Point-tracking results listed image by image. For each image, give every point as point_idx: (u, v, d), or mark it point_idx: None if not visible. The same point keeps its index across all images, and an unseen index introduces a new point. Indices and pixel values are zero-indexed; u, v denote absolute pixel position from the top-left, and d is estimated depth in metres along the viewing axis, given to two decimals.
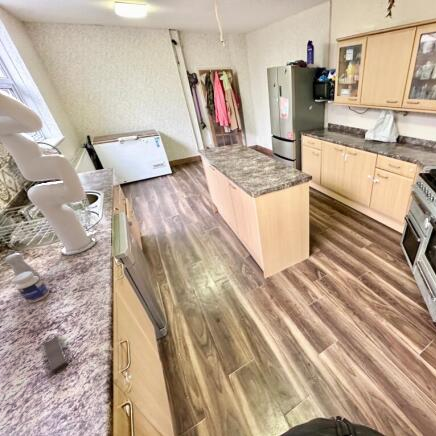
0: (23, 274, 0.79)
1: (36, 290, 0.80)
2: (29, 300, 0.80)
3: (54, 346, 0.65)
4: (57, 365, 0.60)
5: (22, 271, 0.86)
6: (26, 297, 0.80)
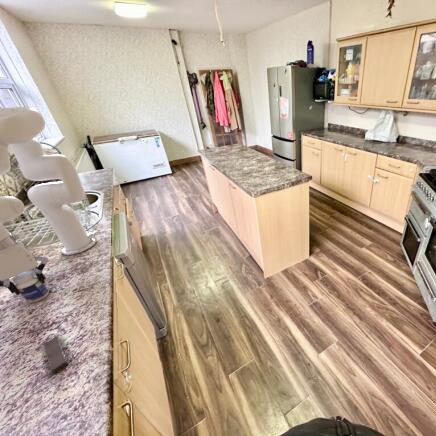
0: (23, 274, 0.79)
1: (36, 290, 0.80)
2: (29, 300, 0.80)
3: (54, 346, 0.65)
4: (57, 365, 0.60)
5: None
6: (26, 297, 0.80)
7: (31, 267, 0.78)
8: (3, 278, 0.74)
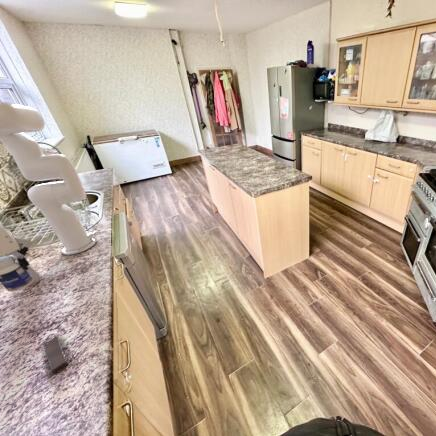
0: (2, 258, 0.68)
1: (17, 278, 0.69)
2: (9, 289, 0.69)
3: (54, 346, 0.65)
4: (57, 365, 0.60)
5: None
6: (5, 285, 0.69)
7: (11, 250, 0.67)
8: None
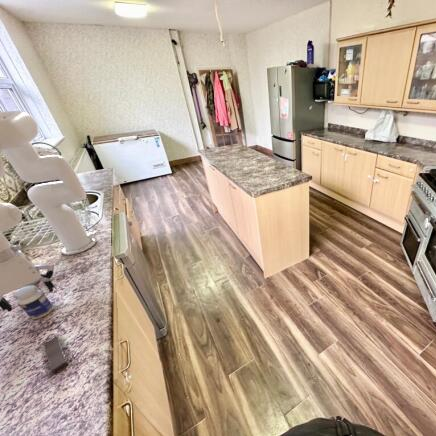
0: (26, 288, 0.73)
1: (40, 306, 0.74)
2: (32, 316, 0.74)
3: (54, 346, 0.65)
4: (57, 365, 0.60)
5: None
6: (29, 313, 0.73)
7: (33, 280, 0.72)
8: (3, 293, 0.68)
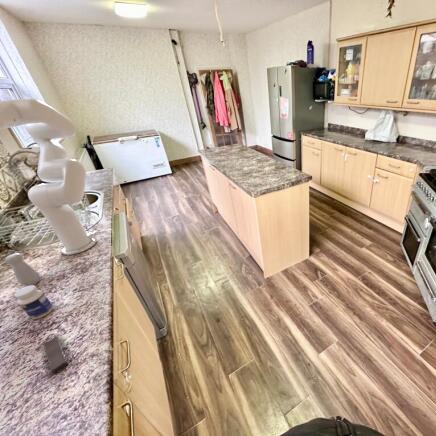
0: (26, 288, 0.73)
1: (40, 306, 0.74)
2: (32, 316, 0.74)
3: (54, 346, 0.65)
4: (57, 365, 0.60)
5: (22, 271, 0.86)
6: (29, 313, 0.73)
7: None
8: None
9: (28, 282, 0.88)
